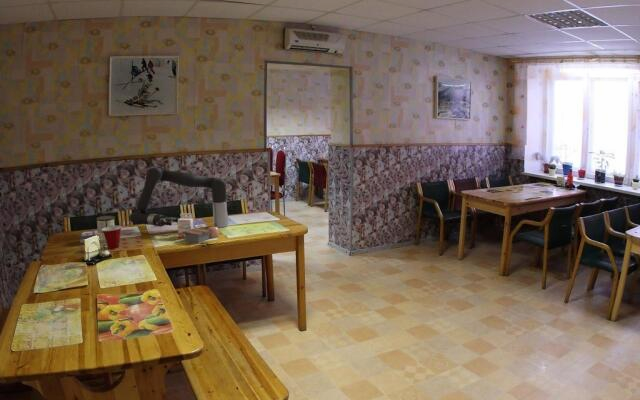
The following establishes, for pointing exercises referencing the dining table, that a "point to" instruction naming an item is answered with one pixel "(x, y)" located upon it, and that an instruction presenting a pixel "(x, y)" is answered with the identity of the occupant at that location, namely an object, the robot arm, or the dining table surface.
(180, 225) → the ink cartridge box
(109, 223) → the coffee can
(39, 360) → the dining table surface
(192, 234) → the display podium
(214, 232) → the pinkish brown round piece
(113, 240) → the plastic cup
